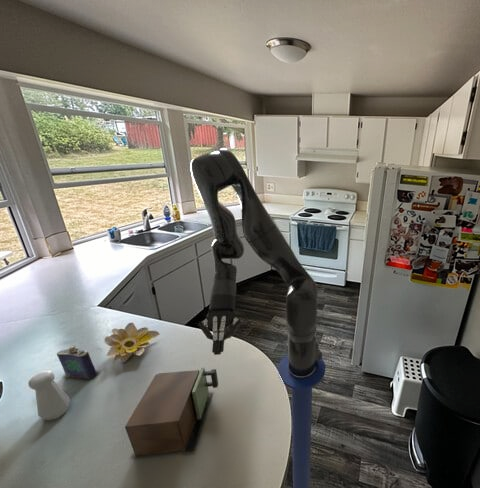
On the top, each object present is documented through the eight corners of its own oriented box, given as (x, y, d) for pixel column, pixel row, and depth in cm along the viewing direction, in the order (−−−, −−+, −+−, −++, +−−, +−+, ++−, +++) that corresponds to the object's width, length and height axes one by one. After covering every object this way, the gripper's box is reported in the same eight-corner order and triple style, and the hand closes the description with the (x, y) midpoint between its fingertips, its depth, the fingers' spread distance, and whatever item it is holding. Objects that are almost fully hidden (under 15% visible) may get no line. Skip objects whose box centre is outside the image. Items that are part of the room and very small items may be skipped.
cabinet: (211, 393, 73) (206, 368, 69) (193, 450, 59) (187, 421, 56) (163, 398, 71) (156, 372, 68) (134, 457, 57) (123, 428, 54)
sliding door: (220, 392, 73) (216, 366, 69) (213, 418, 66) (208, 390, 62) (206, 393, 72) (201, 367, 69) (197, 419, 65) (191, 392, 62)
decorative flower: (135, 367, 78) (121, 340, 76) (102, 372, 79) (88, 346, 77) (165, 336, 93) (155, 313, 90) (138, 341, 94) (127, 318, 91)
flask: (63, 376, 76) (51, 349, 73) (73, 369, 79) (62, 342, 75) (91, 379, 76) (81, 352, 72) (100, 371, 79) (91, 345, 75)
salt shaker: (45, 428, 63) (25, 390, 58) (38, 415, 65) (18, 379, 61) (75, 409, 67) (59, 373, 63) (68, 398, 70) (52, 363, 66)
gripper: (197, 293, 76) (188, 356, 69) (242, 292, 78) (238, 352, 70) (205, 299, 82) (197, 356, 75) (246, 297, 84) (243, 353, 77)
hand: (217, 354), depth 73 cm, fingers closed
